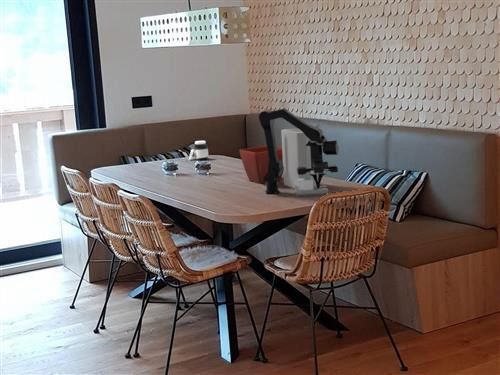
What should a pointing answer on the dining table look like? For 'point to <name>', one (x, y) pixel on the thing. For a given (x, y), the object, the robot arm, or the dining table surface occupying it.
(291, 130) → the paper bag
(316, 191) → the grey folded cloth
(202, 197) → the dining table surface
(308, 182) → the module
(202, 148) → the spread jar
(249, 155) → the plant pot
